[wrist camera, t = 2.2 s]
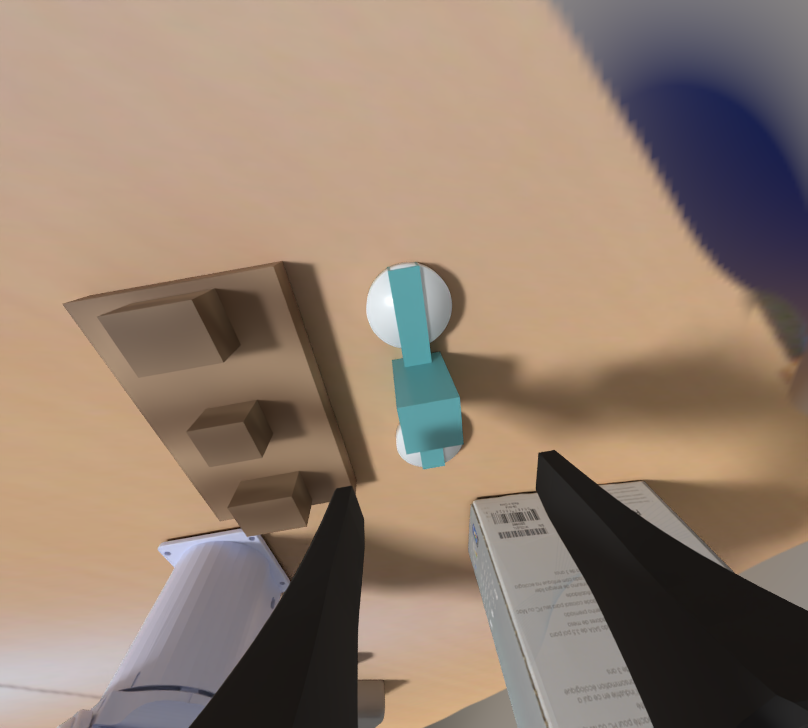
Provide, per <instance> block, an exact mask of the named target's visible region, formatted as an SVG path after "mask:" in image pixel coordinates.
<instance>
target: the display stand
mask: <svg viewBox="0 0 808 728" xmlns="http://www.w3.org/2000/svg"><path fill="white" fill-rule="evenodd" d="M63 306H64V307H65V308H66V310H67V311H68V313H69V314H70V315H71V317H72V318H73V319H74V321H75V322H76V324H77V325H78V326H79V328H80V329H81V330H82V332H83V333H84V335H85V336H86V337H87V339H88V340H89V341H90V343H91V344H92V346H93V347H94V348H95V350H96V351H97V353H98V354H99V355H100V357H101V358H102V359H103V361H104V362H105V364H106V365H107V366H108V368H109V369H110V370H111V372H112V373H113V375H114V376H115V377H116V379H117V380H118V381H119V383H120V384H121V386H122V387H123V388H124V390H125V391H126V392H127V394H128V395H129V397H130V398H131V399H132V401H133V402H134V404H135V405H136V406H137V408H138V409H139V410H140V412H141V413H142V415H143V416H144V417H145V419H146V420H147V421H148V423H149V424H150V426H151V427H152V428H153V430H154V431H155V432H156V434H157V435H158V437H159V438H160V439H161V441H162V442H163V444H164V445H165V446H166V448H167V449H168V450H169V452H170V453H171V455H172V456H173V457H174V459H175V460H176V461H177V463H178V464H179V466H180V467H181V468H182V470H183V471H184V472H185V474H186V475H187V477H188V478H189V479H190V481H191V482H192V483H193V485H194V486H195V488H196V489H197V490H198V492H199V493H200V495H201V496H202V497H203V499H204V500H205V501H206V503H207V504H208V506H209V507H210V508H211V510H212V511H213V512H214V514H215V515H216V517H217V518H218V519H219V521H224V520H230V519H235V520H236V522H237V523H238V524H239V526H240V527H241V529H242V530H243V532H244V533H245V535H246V536H247V537H250V536H256V535H261V534H267V533H273V532H278V531H284V530H290V529H295V528H301V527H307V523H308V518H309V514H310V509H311V505H315V504H321V503H326V502H330V501H331V498H332V496H333V493H334V491H335V489H336V488H341V487H346V486H353V489H354V492H355V494H356V478H355V475H354V472H353V469H352V466H351V463H350V460H349V457H348V454H347V451H346V448H345V445H344V442H343V439H342V436H341V433H340V430H339V427H338V424H337V421H336V418H335V416H334V413H333V410H332V407H331V404H330V401H329V398H328V395H327V392H326V389H325V386H324V383H323V380H322V377H321V374H320V371H319V368H318V365H317V362H316V359H315V356H314V353H313V351H312V348H311V345H310V342H309V339H308V336H307V333H306V330H305V327H304V324H303V321H302V318H301V315H300V312H299V309H298V306H297V303H296V300H295V297H294V294H293V291H292V288H291V285H290V283H289V280H288V277H287V274H286V271H285V268H284V265H283V262H282V261H280V262H275V263H269V264H264V265H258V266H253V267H247V268H241V269H236V270H230V271H225V272H219V273H213V274H208V275H202V276H197V277H191V278H185V279H180V280H174V281H169V282H163V283H157V284H152V285H146V286H141V287H135V288H129V289H124V290H118V291H113V292H107V293H101V294H96V295H90V296H87V297H83V298H80V299H77V300H74V301H70V302H67V303H64V304H63Z"/></svg>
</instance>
